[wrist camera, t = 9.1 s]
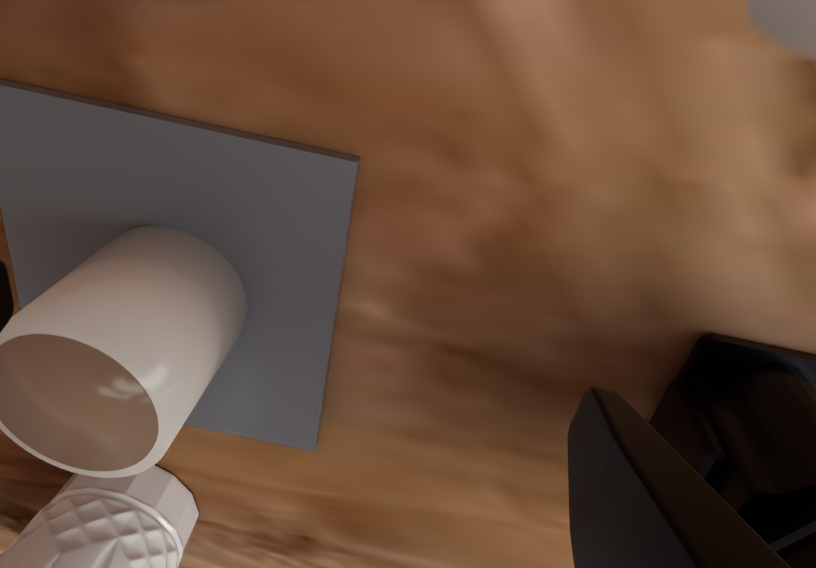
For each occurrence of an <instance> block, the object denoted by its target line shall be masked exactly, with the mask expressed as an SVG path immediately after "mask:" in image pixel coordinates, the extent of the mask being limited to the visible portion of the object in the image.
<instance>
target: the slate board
mask: <svg viewBox="0 0 816 568" xmlns="http://www.w3.org/2000/svg"><path fill="white" fill-rule="evenodd" d="M359 163H360V157H357V156H353V155H348V154H344V153H339V152H334V151H330V150H325V149H321V148H316V147H311V146H307V145H302V144H298V143H293V142H288V141H284V140H279V139H275V138H270V137H265V136H261V135H256V134H252V133H247V132H242V131H238V130H233V129H229V128H224V127H219V126H215V125H210V124H206V123H201V122H196V121H192V120H187V119H183V118H178V117H173V116H169V115H164V114H160V113H155V112H150V111H146V110H141V109H137V108H132V107H127V106H123V105H118V104H114V103H109V102H104V101H100V100H95V99H91V98H86V97H81V96H77V95H72V94H68V93H63V92H59V91H54V90H49V89H45V88H40V87H36V86H31V85H26V84H22V83H17V82H13V81H8V80H3V79H0V207H1V212H2V217H3V222H4V227H5V233H6V238H7V243H8V248H9V253H10V258H11V263H12V269H13V274H14V279H15V284H16V289H17V294H18V299H19V304H20V310H22V309H23V308H24V307H26V306H27V305H28V304H30V303H31V302H32V301H34V300H35V299H36V298H37V297H39V296H40V295H41V294H43V293H44V292H45V291H47V290H48V289H49V288H51V287H52V286H53V285H54V284H56V283H57V282H58V281H60V280H61V279H62V278H64V277H65V276H66V275H68V274H69V273H70V272H71V271H73V270H74V269H75V268H77V267H78V266H79V265H81V264H82V263H83V262H84V261H86V260H87V259H88V258H90V257H91V256H92V255H94V254H95V253H96V252H98V251H99V250H100V249H101V248H103V247H104V246H105V245H107V244H108V243H109V242H111V241H112V240H113V239H115V238H116V237H117V236H119V235H120V234H122V233H124V232H126V231H128V230H131V229H133V228H137V227H142V226H165V227H171V228H175V229H179V230H182V231H185V232H187V233H190V234H192V235H194V236H196V237H198V238H200V239H202V240H204V241H205V242H207V243H208V244H210V245H211V246H212V247H214V248H215V249H216V250H217V251H218V252H220V253H221V254H222V255H223V256H224V257H225V258H226V259H227V260H228V262H229V263H230V264H231V266H232V267H233V268H234V270H235V271H236V273H237V274H238V276H239V278H240V280H241V282H242V284H243V287H244V290H245V293H246V297H247V304H248V313H247V320H246V323H245V326H244V328H243V330H242V332H241V334H240V336H239V337H238V339H237V340H236V342H235V344H234V345H233V347H232V348H231V350H230V351H229V353H228V355H227V356H226V358H225V359H224V361H223V363H222V364H221V366H220V367H219V369H218V370H217V372H216V374H215V375H214V377H213V378H212V380H211V382H210V383H209V385H208V386H207V388H206V389H205V391H204V393H203V394H202V396H201V397H200V399H199V401H198V402H197V404H196V405H195V407H194V409H193V410H192V412H191V413H190V415H189V416H188V418H187V420H186V421H185V423H184V424H185V425H190V426H195V427H199V428H204V429H209V430H213V431H218V432H223V433H227V434H232V435H237V436H241V437H246V438H251V439H256V440H260V441H265V442H270V443H274V444H279V445H284V446H288V447H293V448H298V449H302V450H307V451H312V452H315V449H316V446H317V443H318V436H319V430H320V423H321V416H322V410H323V403H324V396H325V390H326V383H327V376H328V370H329V363H330V356H331V350H332V343H333V336H334V330H335V323H336V316H337V310H338V303H339V296H340V290H341V283H342V276H343V270H344V263H345V256H346V250H347V243H348V236H349V230H350V223H351V216H352V210H353V203H354V196H355V190H356V183H357V176H358V170H359Z"/></svg>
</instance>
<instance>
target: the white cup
mask: <svg viewBox="0 0 816 568" xmlns="http://www.w3.org/2000/svg"><path fill="white" fill-rule="evenodd" d="M198 516H199V512H198V509H197V506H196V504H195V501H194V498H193V495H192V493H191V492H190V491H189V490H188V489H187V488H186V487H185V486H184V485H183V484H182V483H181V482H180V481H179V480H178V479H177V478H176V477H175V476H174V475H173V474H171V473H169V472H167V471H165V470H163V469H161V468H160V467H158V466H156V465H154V466H152V467H151V468H149V469H147V470H145V471H143V472H141V473H138V474H135V475H131V476H126V477H118V478H102V477H92V476H86V475H81V474H78V473H74V474H73V475H72V476H71V478H70V479H69V480H68V481H67V482H66V484H65V485H64V486H63V487H62V488H61V490H60V491H59V492H58V493H57V494H56V496H55V497H54V498H53V499H52V500H51V502H50V503H49V504H47V505H45V506H44V507H43V508H42V509H41V510H40V511H39V512H38V513H37V514H36V516H35V517H34V518H33V519H32V520H31V521H30V523H29V524H28V525H27V526H26V527H25V528H24V529H23V530H22V532H21V533H20V534H19V535H18V536H17V537H16V538H15V539H14V540H13V542H12V543H11V544H10V545H9V546H8V547H7V548H6V550H5V551H4V552H3V553H2V554H1V555H0V568H179V563H180V561H181V558H182V555H183V553H184V551H185V549H186V546H187V544H188V542H189V540H190V537H191V535H192V533H193V530H194V527H195V524H196V522H197V519H198Z"/></svg>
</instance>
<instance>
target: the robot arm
mask: <svg viewBox="0 0 816 568" xmlns="http://www.w3.org/2000/svg"><path fill="white" fill-rule="evenodd" d="M13 311H14V301H13V296H12V291H11V286H10V281H9V276H8V271H7V267H6V265H5V264H4V262H3V261H2V260H0V333H1V331H2V330H3V329H4V327H5V326H6V325H7V323H8V322H9V321H10V319H11V317H12V315H13ZM711 346H716V347H715V348H714V349H712V350H707V349H708V348H709V347H711ZM568 479H569V518H570V535H571V543H572V551H573V559H574V566H575V568H816V356H812V355H808V354H803V353H799V352H794V351H789V350H785V349H780V348H775V347H771V346H766V345H761V344H757V343H752V342H748V341H743V340H738V339H734V338H729V337H724V336H720V335H714V334H709V335H705V336H703V337H702V338H700V339H699V340H698V341H697V343H696V344H695V346H694V348H693V350H692V352H691V353H690V355H689V357H688V359H687V361H686V362H685V364H684V366H683V368H682V369H681V371H680V373H679V375H678V377H677V378H676V379H675V380H673V381H672V382H671V384H670V386H669V387H668V389H667V391H666V393H665V395H664V396H663V398H662V400H661V402H660V403H659V405H658V407H657V409H656V411H655V412H654V414H653V416H652V418H651V420H650V421H649V423H648V422H647V421H646V420H645V419H644V418H643V417H642V416H641V415H640V414H639V413H638V412H637V411H636V410H635V409H634V408H633V407H632V406H631V405H630V404H629V403H628V402H627V401H626V400H625V399H624V398H623V397H622V396H621V395H620V394H619V393H617V392H615V391H612V390H607V389H603V388H598V387H591V388H589V389H588V390H587V391H586V392H585V394H584V396H583V398H582V400H581V402H580V405H579V407H578V409H577V411H576V413H575V415H574V418H573V420H572V422H571V424H570V427H569V431H568Z"/></svg>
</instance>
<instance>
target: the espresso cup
mask: <svg viewBox="0 0 816 568" xmlns="http://www.w3.org/2000/svg"><path fill="white" fill-rule="evenodd" d="M247 313H248V304H247V297H246V293H245V290H244V287H243V284H242V282H241V280H240V278H239V276H238V274H237V273H236V271H235V270H234V268H233V267H232V266H231V264H230V263H229V262H228V260H227V259H226V258H225V257H224V256H223V255H222V254H221V253H220V252H218V251H217V250H216V249H215V248H214V247H212V246H211V245H210V244H208V243H207V242H205V241H204V240H202V239H200V238H198V237H196V236H194V235H192V234H190V233H187V232H185V231H182V230H179V229H175V228H171V227H165V226H142V227H137V228H133V229H131V230H128V231H126V232H124V233H122V234H120V235H119V236H117V237H116V238H115V239H113V240H112V241H111V242H109V243H108V244H107V245H105V246H104V247H103V248H101V249H100V250H99V251H98V252H96V253H95V254H94V255H92V256H91V257H90V258H88V259H87V260H86V261H84V262H83V263H82V264H81V265H79V266H78V267H77V268H75V269H74V270H73V271H71V272H70V273H69V274H68V275H66V276H65V277H64V278H62V279H61V280H60V281H58V282H57V283H56V284H54V285H53V286H52V287H51V288H49V289H48V290H47V291H45V292H44V293H43V294H41V295H40V296H39V297H37V298H36V299H35V300H34V301H32V302H31V303H30V304H28V305H27V306H26V307H24V308H23V309H22V310H21V311H19V312H18V313H17V314H15V315H14V316H13V317H11V319H10V321H9V322H8V323H7V325H6V326H5V327H4V329H3V330H2V331H1V333H0V429H1V430H2V431H3V432H4V433H5V434H6V435H7V436H8V437H9V438H10V439H12V440H13V441H14V442H15V443H16V444H18V445H19V446H20V447H22V448H23V449H25V450H26V451H28V452H29V453H31V454H33V455H34V456H36V457H38V458H40V459H41V460H43V461H45V462H47V463H49V464H52V465H54V466H56V467H59V468H61V469H64V470H67V471H70V472H74V473H78V474H81V475H86V476H92V477H102V478H118V477H126V476H131V475H135V474H138V473H141V472H143V471H145V470H147V469H149V468H151V467H152V466H154V465H155V464H156V463H157V462H158V461H159V460H160V459H161V458H162V457H163V456H164V454H165V453H166V451H167V450H168V448H169V447H170V445H171V443H172V442H173V440H174V439H175V437H176V435H177V434H178V432H179V431H180V429H181V428H182V426H183V424H184V423H185V421H186V420H187V418H188V416H189V415H190V413H191V412H192V410H193V409H194V407H195V405H196V404H197V402H198V401H199V399H200V397H201V396H202V394H203V393H204V391H205V389H206V388H207V386H208V385H209V383H210V382H211V380H212V378H213V377H214V375H215V374H216V372H217V370H218V369H219V367H220V366H221V364H222V363H223V361H224V359H225V358H226V356H227V355H228V353H229V351H230V350H231V348H232V347H233V345H234V344H235V342H236V340H237V339H238V337H239V336H240V334H241V332H242V330H243V328H244V326H245V323H246V320H247Z"/></svg>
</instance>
